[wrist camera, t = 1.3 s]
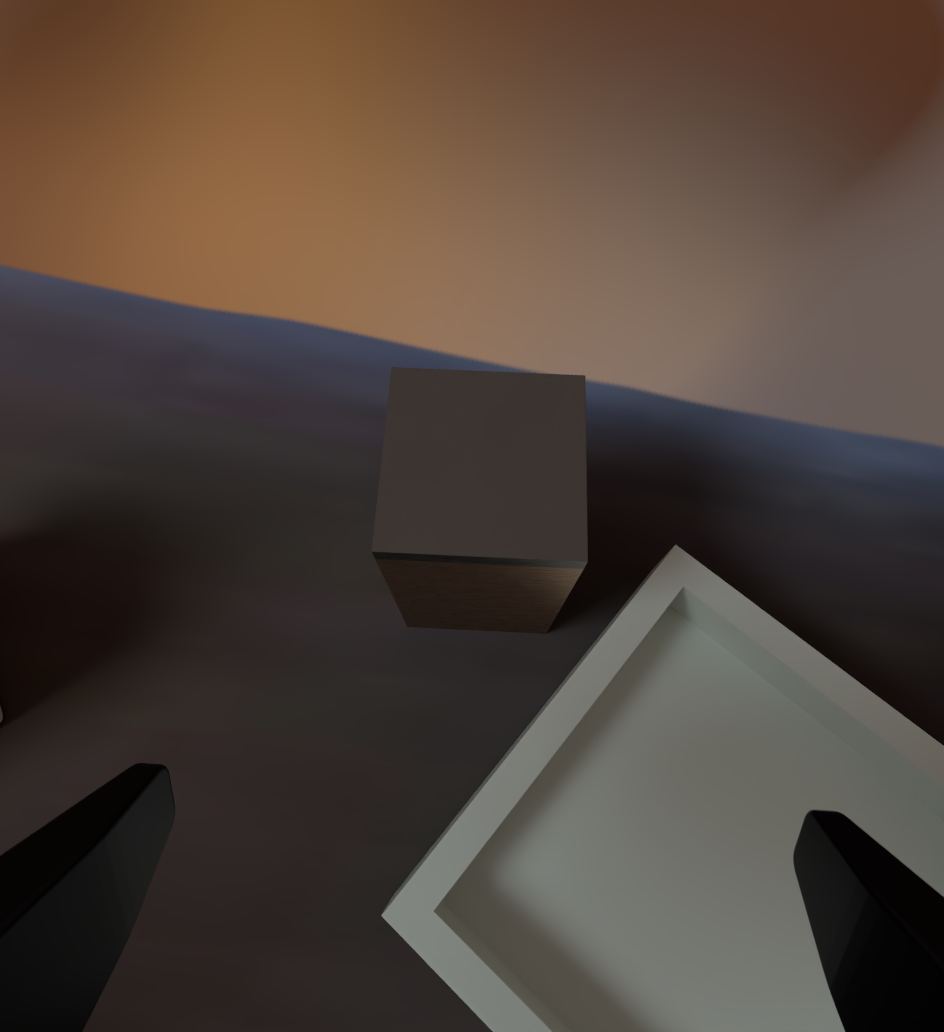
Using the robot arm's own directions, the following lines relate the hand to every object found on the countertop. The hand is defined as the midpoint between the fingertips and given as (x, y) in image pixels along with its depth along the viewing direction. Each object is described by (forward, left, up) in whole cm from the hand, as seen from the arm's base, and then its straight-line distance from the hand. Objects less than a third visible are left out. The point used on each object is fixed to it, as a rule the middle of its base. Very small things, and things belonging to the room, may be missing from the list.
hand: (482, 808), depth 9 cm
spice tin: (+6, +5, -13) cm, 15 cm away
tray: (+3, -7, -13) cm, 15 cm away
